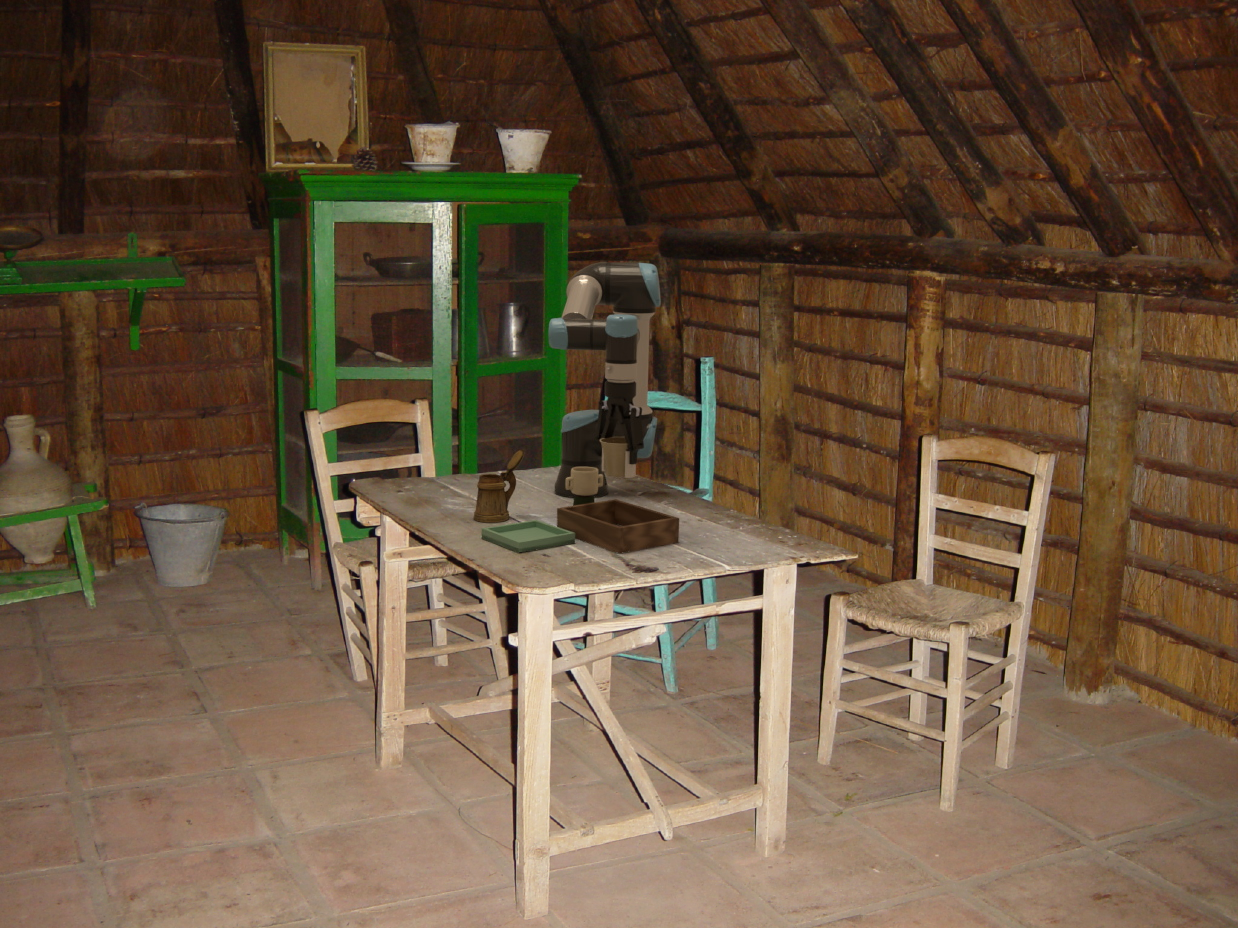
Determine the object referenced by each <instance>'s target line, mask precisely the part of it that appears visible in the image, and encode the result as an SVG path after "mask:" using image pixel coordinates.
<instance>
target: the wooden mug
mask: <svg viewBox="0 0 1238 928" xmlns="http://www.w3.org/2000/svg"><path fill="white" fill-rule="evenodd" d="M525 455H526V449H525V447H524V448H521V449H519V450H517V451H516V452H515V453H514V454H513V455H512V456H511V458H510V460H509V461H508V463H507V467H506V470H505V471H502V472H500V474H495V473H485V474H481V475H479V479H478V482H477V484H476V485H477V486H476V487H477V488H478V489H477V497H476V505H475V511H474V512H473V520H475V521H477V522H480V523H491V524H492V523H501V522H506V521H508V520H509V518H510V512H509V510H508V507H509V502H510V499H511V498H512V496H513V494H514V492H515V490H516V486H517V477H516V475H515V473H514V471H515V470H517V468H518V467H519V466H520V464H521V463H522V461H523V459H524V457H525ZM506 482H507V483H509V487H508V489H507V490H506V489H505V488H506V486H507V483H506Z"/></svg>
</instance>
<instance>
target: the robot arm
mask: <svg viewBox="0 0 1238 928" xmlns="http://www.w3.org/2000/svg"><path fill="white" fill-rule="evenodd" d="M566 298H567V299H566V303H565V306H564V308H563V312H562V315H561V317H557V318H556V317H555V318H551V319H550V321H549V322H548V323H549V324H548V344H549V345H548V346H549V347H550V348H552V349H557V350H563V351H567V350H571V351H572V350H574V351H577V350H578V351H579V350H580V351H605V364H604V365H605V368H604V379H606V380H605V381H604V396H605V397H607V399H606V400H599V401H598V409H586V410H577V411H572V412H569V413H566V414H565V415H564V416H563V417H562V419H561V420H562V421H561V430H560V433H561V453H560V457H561V458H560V461H561V462H560V468H559V471H558V474H557V477H556V481H555V483H554V493H555V494H556V495H557V496H560V497H561V496H562V497H567V498H573V499H574V498H575V496H576V494H573V493H572V492H571V490H566V487H565V486H566V478H567V477H571V469H572V468H574V467H594V468H597V469H598V474H602V475H603V486H601V487H598V492H597V494H594V495H592V496H593V497H594V498H598V497H603V496H605V495H608V493H609V485H608V481H607V477H606V473H605V472H606V468H605V460H604V453H603V448H602V445H601V442H600V439H602V438H610V437H625V439H626V443H627V444H628V445H627V447H628V449H626V451H625V477H624V479H629V478H636V475H637V474H636V473H637V467H636V466H637V464H638V459H647V458H650V457H651V456H652V453H653V449H654V443H655V438H656V437H655V436H656V430H657V425H658V418H657V416H653V409H652V408H651V407H649V405H648V395H649V394H648V393H649V392H648V391H649V390H648V387H649V354H650V353H649V349H650V319H651V318H652V317H653V316H654V315H655V314H656V308H659V307H661V306H662V305H661V303H662V301H661V290H660V279H659V272H658V268H657V266H656V265H655V264H652V263H645V262H614V261H613V262H612V261H611V262H609V261H608V262H607V261H600V262H596V263H592V264H588V265H586V266H585V267H583V268H581V269H580V270H578V271H577V272H576V273H575V274H574V275H572V277H571V278H570V279H569V281H568V283H567V286H566ZM597 306H612V314H609V315H608V316H607V317H606V319H598V318H597V319H595V318H594V319H593V316H594V313H595V309H596V307H597ZM632 444H633V445H632ZM599 480H600V478H598V483H599ZM569 486H570V481H569Z"/></svg>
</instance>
